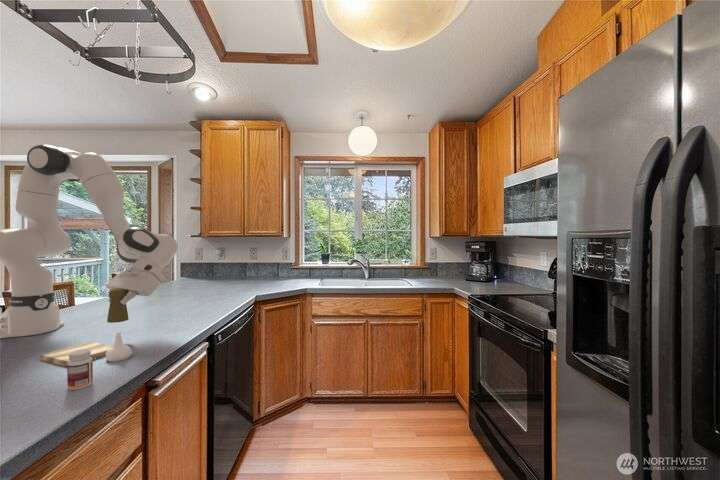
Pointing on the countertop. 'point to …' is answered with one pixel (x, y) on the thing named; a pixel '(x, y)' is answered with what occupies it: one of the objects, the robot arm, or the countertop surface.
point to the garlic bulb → (118, 350)
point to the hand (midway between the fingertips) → (116, 302)
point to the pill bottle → (79, 369)
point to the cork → (117, 306)
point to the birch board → (63, 354)
